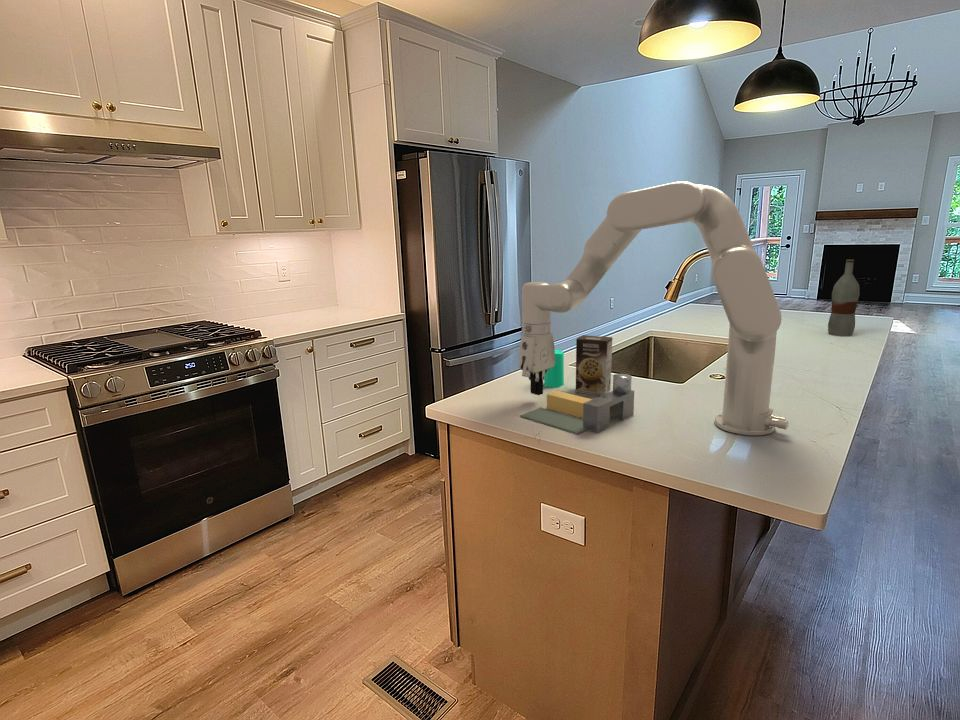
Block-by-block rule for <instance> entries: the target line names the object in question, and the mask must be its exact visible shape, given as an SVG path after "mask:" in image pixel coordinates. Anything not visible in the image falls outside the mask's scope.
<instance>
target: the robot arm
mask: <svg viewBox="0 0 960 720" xmlns="http://www.w3.org/2000/svg"><path fill="white" fill-rule="evenodd" d="M739 211H740V210H738V208H737V206H736V205H735V202H734V201H733V200H732V199H731V198H730V196H729V195H727V194H726V193H724V191H722V190H720V189H718V188H716V187H713V186H711V185H706V184H705V185H704V184H696V183H692V182H690V181H682V180H681V181H676V182H675V181H674V182H670V183H666V184H661V185H660V184H659V185H656V186H651V187H647V188H643V189H638V190H632V191H627V192H626V191H625V192H623V193H620V194H618V195H617V196H615V197H614V198H613V199H612V200H611V201H610V203H609V204H608V206H607V210H606V217H605V218H603V220H602V221H601V223H600V224H599V225H598V226H597V227H596V229H595V230H594V231H593V233H592V234H591V235H590V237H589V238H588V239H587V240H586V242H585V243H584V247H583V253H582V256H581V258H580V260H579V261H578V262H577V265H576V266H575V267H574V268H573V270H572V271H571V272H570V274H568V276H567V277H566V278H565V280H563V281H560V282H557V283H552V284H549V283H548V282H545V281H530V282H525V283H524V284H523V285H522V287H521V303H522V304H521V306H522V307H521V312H522V313H521V315H522V319H521V320H522V327H521V332H522V335H521V339H520V346H519V347H520V348H519V368H520V371H522V372H521V376H522V377H524V378H528V380H529V381H530V394H531V395H535V396H541V395H544V379H545V374H546V372H547V371H548V370H550V369H551V368H552V367H553V366H554V365H555V350H556V349H555V339H554V336H553V332H552V331H551V328H552V327H551V326H552V325H551V324H552V323H551V322H552V321H551V319H552V317H551V316H552V315H551V313H560V314H562V313H567V312H569V311H572V309H574V308H576V307H579V306H580V305H581V304H582V303H583V302H584V300H586V298H587V297H588V296H589V295H590V294H591V293H592V291H593V290H594V289H595V288H596V287H597V286H598V284H599V283H600V281H601V280H602V279H603V278H604V276H605V275H606V274H607V272H609V271H610V270H611V268H612V267H613V265H614V264H615V263H616V261H617V260H618V258H619V257H621V255H622V254H623V253H624V251H626V249H627V248H628V247H629V246H630V244H631V243H632V242H633V240H635V238H636V237H637V236H638V234H639V233H640V232H641V231H642V230H647V229H653V228H658V227H665V226H670V225H676V224H685V223H688V222H690V223H693V224H694V225H695V226H697V228H698V230H699V231H700V234H701V237H702V239H703V242H704V244H705V246H706V249H707V251H708V255H709V256H710V260H711V264H712V268H711V276H712V280H713V283H714V287H715V288H716V291H717V294H718V297H719V299H720V302H721V304H722V308H723V309H724V311H725V315H726V317H727V320H728V323H729V329H728V340H727V341H728V343H727V353H726V366H725V379H724V390H723V404H722V413H719V414H717V415H716V416H715V417H714V423H715V424H714V425H716V427H718V428H719V429H721V430H723V431H726V432H729V433H731V434H732V433H733V434H737V435H744V436H764V435H769V434H771V433H773V432H775V428H777V429H782V430H787V429H788V427H789V421H788V420H787V419H786V418H785V417H781V416H776V415H775V414H773V413H774V409H773V408H770V401H771V394H772V393H771V392H772V384H773V374H774V373H773V372H774V363H775V356H776V354H775V353H776V344H777V334H778V333H777V332H778V330H779V329H780V327H781V323H782V312H781V309H780V306H779V304H778V301H777V298H776V296H775V293H774V290H773V287H772V285H771V281H770V280H769V277H768V275H767V271H766V269H765V265H764V263H763V261H762V259H761V257H760V255H759V254H758V252H757V251H756V249H755V247H754V245H753V242H752V240H751V238H750V235H749V232H748V231H747V230H748V229H747V228H746V226H745V224H744V221H743V218H742V216H741V214H740V212H739Z"/></svg>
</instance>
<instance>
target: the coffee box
mask: <svg viewBox="0 0 960 720" xmlns="http://www.w3.org/2000/svg"><path fill="white" fill-rule="evenodd" d="M575 344H576V346H575V349H576V350H575V353H576V354H575V355H576V356H575V357H576V358H575V393H577V392H579V393H578V394H586V395H587V394H588V395H596V396H602V395H604V394H607V393H609V392H611V390H612V389H611V383H612V382H611V381H612V360H613V357H612V356H613V355H612V353H613V337H612V336H601V335H600V336H599V335H598V336H597V335H585V334H583V335H580V336H578V337H577V338H576V343H575Z"/></svg>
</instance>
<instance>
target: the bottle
mask: <svg viewBox="0 0 960 720" xmlns="http://www.w3.org/2000/svg"><path fill="white" fill-rule="evenodd" d="M854 262H855V259H846V260H845V267H844V273H843V275H842V276H840V278H838V280H837V281H836V283H834V285H833V289H832V291H831V313H830V315H829V318H828V323H827V331H828V335H830V336H834V337H851V336H853V334H854V332H855V328H856V311H857V306H858V301H859V297H860V291H861V289H860V284H859V282H858V281H857V279H856V278H855V275H854V274H853V271H854Z"/></svg>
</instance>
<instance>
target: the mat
mask: <svg viewBox="0 0 960 720" xmlns="http://www.w3.org/2000/svg"><path fill="white" fill-rule="evenodd" d="M520 418H523V419H526V420H530V421H533V422H537V423H539V424H543V425H545V426H549V427H553V428H555V429H559V430H562V431H565V432H568V433H572V434H575V435H580V434H581V433H583V432H586V431H588V430H587V429H586V428H583V418H580V417H576V416H573V415H569V414H566V413H562V412H558V411H555V410H551V409H548V408H544V407H538V408H535V409H533V410H530V411H528V412H525V413H522V414H520Z"/></svg>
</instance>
